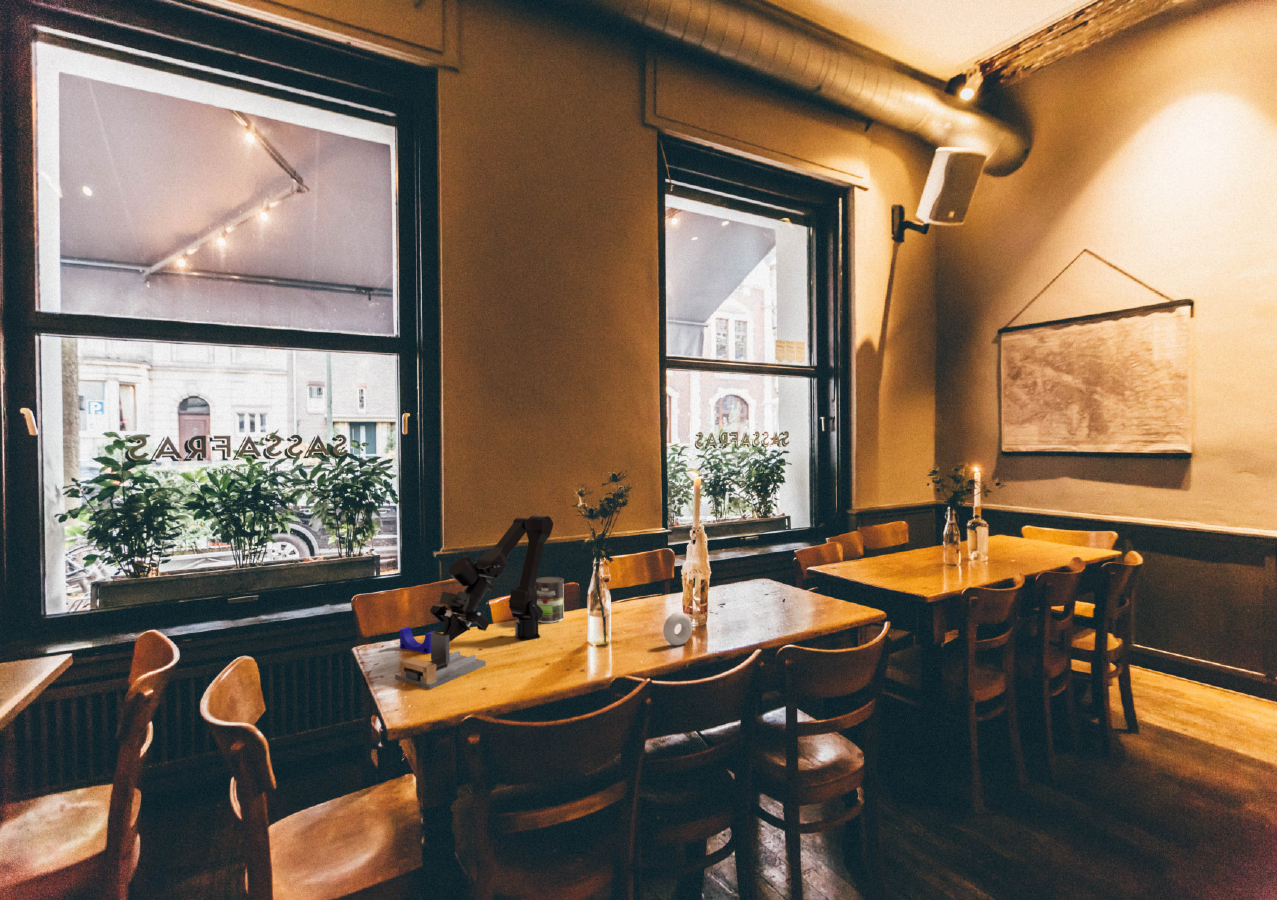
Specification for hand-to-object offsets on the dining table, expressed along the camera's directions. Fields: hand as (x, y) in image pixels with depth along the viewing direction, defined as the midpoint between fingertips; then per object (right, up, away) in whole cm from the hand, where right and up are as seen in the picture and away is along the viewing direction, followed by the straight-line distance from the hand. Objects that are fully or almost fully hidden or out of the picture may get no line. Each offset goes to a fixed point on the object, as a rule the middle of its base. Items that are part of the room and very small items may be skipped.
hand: (442, 644), depth 163 cm
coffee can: (+22, -7, +48) cm, 54 cm away
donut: (+66, -6, +19) cm, 69 cm away
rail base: (0, -7, 0) cm, 7 cm away
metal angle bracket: (-3, -6, -4) cm, 8 cm away
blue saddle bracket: (-13, -8, +19) cm, 24 cm away
